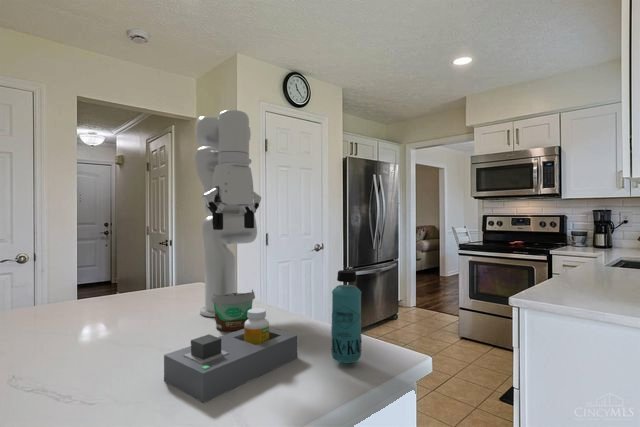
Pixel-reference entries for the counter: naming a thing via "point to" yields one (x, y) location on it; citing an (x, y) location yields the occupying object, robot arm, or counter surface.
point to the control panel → (226, 362)
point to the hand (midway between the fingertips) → (234, 228)
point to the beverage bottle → (346, 319)
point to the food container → (232, 310)
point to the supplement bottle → (256, 327)
